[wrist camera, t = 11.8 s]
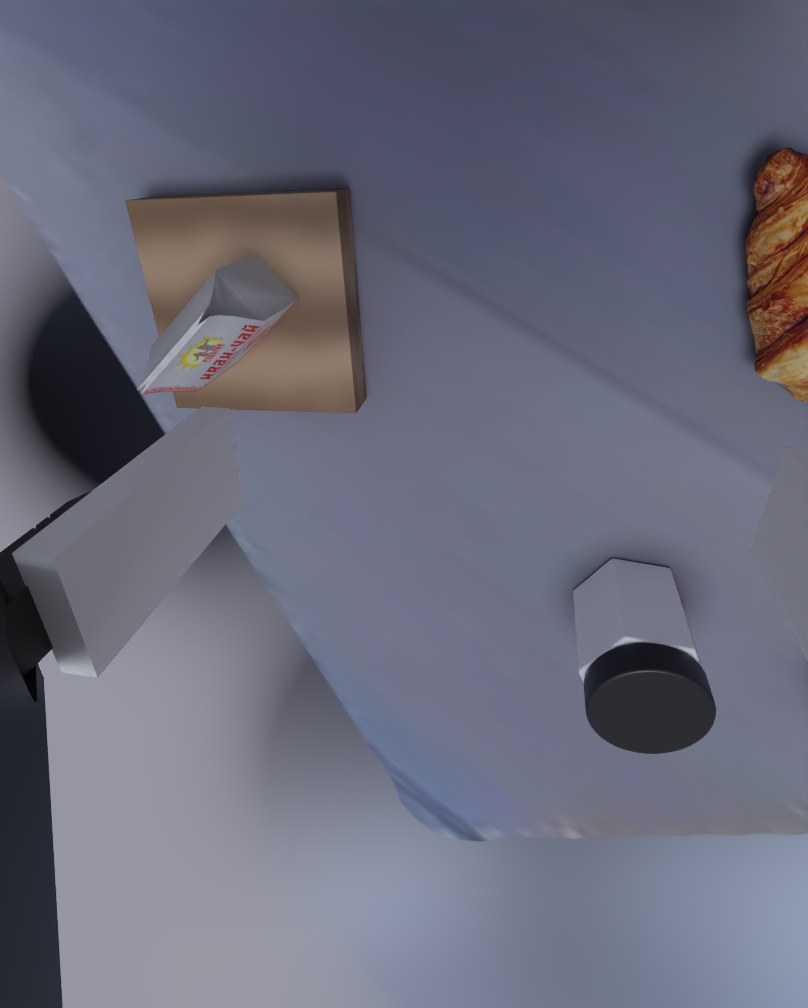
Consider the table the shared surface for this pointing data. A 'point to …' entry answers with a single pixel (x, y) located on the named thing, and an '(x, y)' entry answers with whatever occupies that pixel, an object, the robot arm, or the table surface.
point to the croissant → (780, 271)
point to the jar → (640, 660)
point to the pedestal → (302, 267)
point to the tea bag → (217, 326)
